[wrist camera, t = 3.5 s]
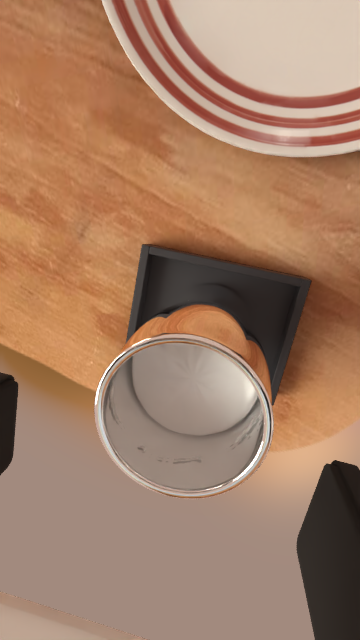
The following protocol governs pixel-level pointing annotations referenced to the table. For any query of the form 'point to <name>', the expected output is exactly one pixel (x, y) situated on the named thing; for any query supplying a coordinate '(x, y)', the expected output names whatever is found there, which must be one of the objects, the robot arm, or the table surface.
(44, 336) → the table surface
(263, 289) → the tray
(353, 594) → the robot arm
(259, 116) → the dinner plate
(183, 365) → the beer glass
